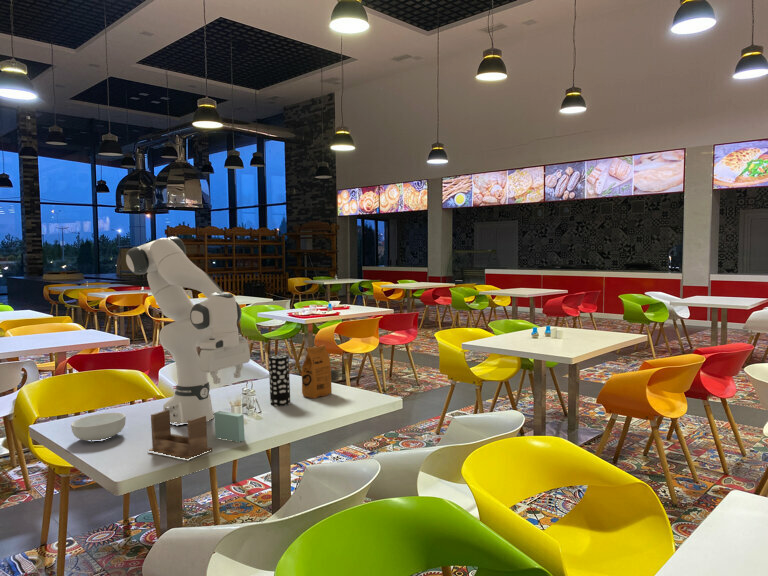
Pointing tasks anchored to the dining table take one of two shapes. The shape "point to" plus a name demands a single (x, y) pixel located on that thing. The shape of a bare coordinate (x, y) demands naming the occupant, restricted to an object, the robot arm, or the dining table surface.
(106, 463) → the dining table surface
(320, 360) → the coffee package
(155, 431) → the wooden u-shaped stand
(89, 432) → the cereal bowl
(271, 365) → the spotted tube
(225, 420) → the door panel
